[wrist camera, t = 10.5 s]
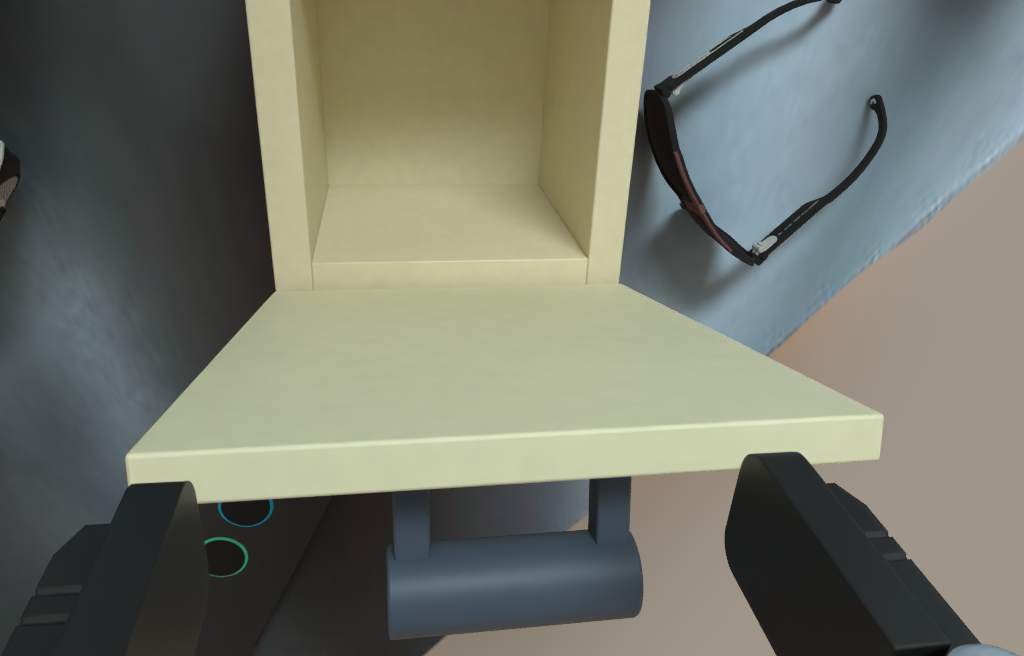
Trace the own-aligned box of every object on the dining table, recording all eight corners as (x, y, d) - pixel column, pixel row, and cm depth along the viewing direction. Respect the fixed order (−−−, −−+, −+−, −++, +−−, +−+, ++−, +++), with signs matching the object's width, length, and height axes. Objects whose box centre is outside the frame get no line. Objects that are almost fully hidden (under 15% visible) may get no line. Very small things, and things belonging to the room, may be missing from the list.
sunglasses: (601, 104, 37) (644, 116, 32) (798, -49, 36) (869, -58, 32) (697, 264, 41) (746, 294, 37) (872, 130, 41) (942, 145, 37)
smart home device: (360, 450, 42) (234, 690, 48) (361, 432, 43) (239, 667, 50) (209, 400, 39) (97, 662, 45) (215, 383, 40) (107, 639, 47)
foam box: (275, -149, 30) (223, -196, 20) (581, -130, 32) (670, -164, 22) (304, 203, 37) (276, 298, 27) (557, 201, 39) (618, 289, 29)
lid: (122, 455, 11) (153, 737, 12) (886, 414, 13) (859, 660, 14) (273, 291, 26) (282, 425, 27) (622, 283, 28) (618, 408, 29)
